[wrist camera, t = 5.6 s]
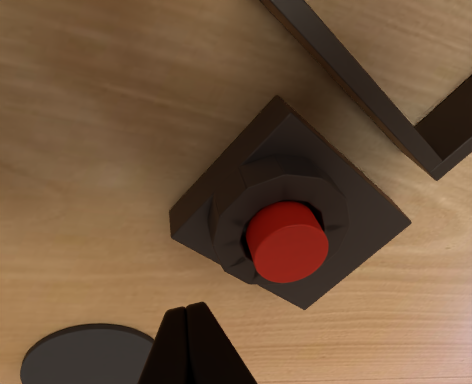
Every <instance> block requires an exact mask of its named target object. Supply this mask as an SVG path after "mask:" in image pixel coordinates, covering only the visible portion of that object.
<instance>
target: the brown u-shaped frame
mask: <svg viewBox="0 0 472 384" xmlns="http://www.w3.org/2000/svg"><path fill="white" fill-rule="evenodd" d="M260 1H261V2H262V3H263V4H264V5H265V6H266V7H267V8H268V10H269V11H270V12H271V13H272V14H273V15H274V16H275V17H276V18H277V19H278V20H279V21H280V22H281V23H282V24H283V25H284V27H285V28H286V29H287V30H288V31H289V32H290V33H291V34H292V35H293V36H294V37H295V38H296V39H297V40H298V41H299V42H300V44H301V45H302V46H303V47H304V48H305V49H306V50H307V51H308V52H309V53H310V54H311V55H312V56H313V57H314V58H315V60H316V61H317V62H318V63H319V64H320V65H321V66H322V67H323V68H324V69H325V70H326V71H327V72H328V73H329V74H330V75H331V77H332V78H333V79H334V80H335V81H336V82H337V83H338V84H339V85H340V86H341V87H342V88H343V89H344V90H345V91H346V92H347V94H348V95H349V96H350V97H351V98H352V99H353V100H354V101H355V102H356V103H357V104H358V105H359V106H360V107H361V108H362V110H363V111H364V112H365V113H366V114H367V115H368V116H369V117H370V118H371V119H372V120H373V121H374V122H375V123H376V124H377V125H378V127H379V128H380V129H381V130H382V131H383V132H384V133H385V134H386V135H387V136H388V137H389V138H390V139H391V140H392V141H393V142H394V144H395V145H396V146H397V147H398V148H399V149H400V150H401V151H402V152H403V153H404V154H405V155H406V156H408V157H409V158H410V159H411V160H412V161H413V162H415V163H416V164H417V165H418V166H419V167H420V168H422V169H423V170H424V171H425V172H426V173H427V174H429V175H430V176H431V177H432V178H433V179H434V180H436V181H438V180H439V179H440V178H441V177H442V176H444V175H445V174H446V173H447V172H448V171H450V170H451V169H452V168H453V167H454V166H456V165H457V164H458V163H459V162H460V161H462V160H463V159H464V158H465V157H466V156H468V155H469V154H470V153H471V152H472V76H471V77H470V78H469V79H468V80H467V81H465V82H464V83H463V84H462V85H461V86H460V87H459V88H458V89H457V90H456V91H454V92H453V93H452V94H451V95H450V96H449V97H448V98H447V99H446V100H444V101H443V102H442V103H441V104H440V105H439V106H438V107H437V108H436V109H435V110H433V111H432V112H431V113H430V114H429V115H428V116H427V117H426V118H425V119H423V120H422V121H421V122H420V123H419V124H418V125H417V126H416V127H415V128H414V127H413V126H412V124H411V123H410V122H409V121H408V120H407V119H406V117H405V116H404V115H403V114H402V113H401V112H400V110H399V109H398V108H397V107H396V106H395V105H394V104H393V102H392V101H391V100H390V99H389V98H388V97H387V95H386V94H385V93H384V92H383V91H382V90H381V88H380V87H379V86H378V85H377V84H376V83H375V82H374V80H373V79H372V78H371V77H370V76H369V75H368V73H367V72H366V71H365V70H364V69H363V68H362V66H361V65H360V64H359V63H358V62H357V61H356V60H355V58H354V57H353V56H352V55H351V54H350V53H349V51H348V50H347V49H346V48H345V47H344V46H343V44H342V43H341V42H340V41H339V40H338V39H337V38H336V36H335V35H334V34H333V33H332V32H331V31H330V29H329V28H328V27H327V26H326V25H325V24H324V22H323V21H322V20H321V19H320V18H319V17H318V16H317V14H316V13H315V12H314V11H313V10H312V9H311V7H310V6H309V5H308V4H307V3H306V2H305V0H260Z"/></svg>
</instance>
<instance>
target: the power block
mask: <svg viewBox="0 0 472 384" xmlns="http://www.w3.org/2000/svg"><path fill="white" fill-rule="evenodd" d="M280 201H295V202H299V203H301V204H303V205H305V206H307V207H308V208H309V209H310V210H311V211H312V213H313V215H314V216H315V218H316V220H317V221H318V223H319V225H320V227H321V228H322V230H323V232H324V233H325V235H326V237H327V239H328V245H329V246H328V254H327V256H326V258H325V260H324V262H323V263H322V265H321V266H320V267H319V268H318V269H317V270H316V271H314V272H313V273H312V274H310V275H309V276H307V277H305V278H303V279H300V280H297V281H294V282H288V283H277V282H272V281H269V280H267V279H265V278H264V277H262V276H261V275H260V274H259V273H258V272H257V270H256V268H255V266H254V263H253V259H252V256H251V253H250V250H249V247H248V244H247V240H246V230H247V227H248V224H249V222H250V220H251V219H252V218H253V216H254V215H255V214H256V213H257V212H258V211H260V210H261V209H262V208H264V207H266V206H268V205H271V204H273V203H276V202H280ZM169 218H170V232H171V238H172V239H174V240H176V241H178V242H179V243H181V244H183V245H185V246H187V247H189V248H191V249H192V250H194V251H196V252H198V253H200V254H202V255H203V256H205V257H207V258H209V259H211V260H213V261H215V262H216V263H218V264H220V265H221V266H222V268H223V269H224V271H225V272H227V273H229V274H231V275H233V276H234V277H236V278H238V279H240V280H242V281H244V282H246V283H248V284H257V285H259V286H261V287H263V288H264V289H266V290H268V291H270V292H272V293H274V294H276V295H277V296H279V297H281V298H283V299H285V300H287V301H289V302H290V303H292V304H294V305H296V306H298V307H300V308H301V309H303V310H306V309H307V308H308V307H309V306H311V305H312V304H313V303H314V302H316V301H317V300H318V299H319V298H320V297H322V296H323V295H324V294H325V293H327V292H328V291H329V290H330V289H332V288H333V287H334V286H335V285H336V284H338V283H339V282H340V281H341V280H343V279H344V278H345V277H346V276H348V275H349V274H350V273H351V272H352V271H354V270H355V269H356V268H357V267H359V266H360V265H361V264H362V263H363V262H365V261H366V260H367V259H368V258H370V257H371V256H372V255H373V254H375V253H376V252H377V251H378V250H379V249H381V248H382V247H383V246H384V245H386V244H387V243H388V242H389V241H391V240H392V239H393V238H394V237H395V236H397V235H398V234H399V233H400V232H402V231H403V230H404V229H405V228H407V227H408V226H409V225H410V224H411V223H412V222H411V220H410V219H409V218H408V217H407V216H406V215H405V214H404V213H403V212H402V211H401V210H400V208H399V207H398V206H397V205H396V204H395V203H394V202H393V201H392V200H391V199H390V198H389V197H388V196H387V195H386V194H385V193H384V192H382V191H381V190H380V189H379V188H378V187H377V186H376V185H375V184H374V183H373V182H372V181H371V180H369V179H368V178H367V177H366V176H365V175H364V174H363V173H362V172H361V171H360V170H359V169H357V168H356V167H355V166H354V165H353V164H352V163H351V162H350V161H349V160H348V159H347V158H346V157H344V156H343V155H342V154H341V153H340V152H339V151H338V150H337V149H336V148H335V147H334V146H332V145H331V144H330V143H329V142H328V141H327V140H326V139H325V138H324V137H323V136H322V135H321V134H319V133H318V132H317V131H316V130H315V129H314V128H313V127H312V126H311V125H310V124H309V123H308V122H306V121H305V120H304V119H303V118H302V117H301V116H300V115H299V114H298V113H297V112H296V111H294V110H293V109H292V108H291V107H290V106H289V105H288V104H287V103H286V102H285V101H284V100H283V99H281V98H280V97H279V96H275V98H274V99H273V100H272V101H271V102H270V103H269V104H268V105H267V106H266V107H265V108H264V109H263V111H262V112H261V113H260V114H259V115H258V116H257V117H256V118H255V119H254V120H253V121H252V122H251V123H250V125H249V126H248V127H247V128H246V129H245V130H244V131H243V132H242V133H241V134H240V135H239V136H238V137H237V139H236V140H235V141H234V142H233V143H232V144H231V145H230V146H229V147H228V148H227V149H226V150H225V151H224V153H223V154H222V155H221V156H220V157H219V158H218V159H217V160H216V161H215V162H214V163H213V164H212V165H211V167H210V168H209V169H208V170H207V171H206V172H205V173H204V174H203V175H202V176H201V177H200V178H199V179H198V181H197V182H196V183H195V184H194V185H193V186H192V187H191V188H190V189H189V190H188V191H187V192H186V194H185V195H184V196H183V197H182V198H181V199H180V200H179V201H178V202H177V203H176V204H175V205H174V206H173V208H172V209H171V210H170V211H169Z"/></svg>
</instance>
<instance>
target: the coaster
mask: <svg viewBox="0 0 472 384" xmlns="http://www.w3.org/2000/svg"><path fill="white" fill-rule="evenodd" d="M153 342H154V340H153V339H152V338H150V337H149V336H147V335H145V334H144V333H142V332H139V331H137V330H134V329H131V328H128V327H123V326H118V325H109V324H92V325H83V326H76V327H72V328H68V329H65V330H61V331H58V332H56V333H54V334H51V335H49V336H48V337H46V338H44V339H42V340H41V341H39V342H38V343H37V344H35V345H34V346H33V347H32V348H31V349H30V351H29V352H28V353H27V354H26V356H25V358H24V360H23V363H22V367H21V372H20V377H21V381H22V384H137V383H138V380H139V378H140V375H141V373H142V370H143V368H144V365H145V363H146V360H147V358H148V355H149V352H150V350H151V347H152V345H153Z"/></svg>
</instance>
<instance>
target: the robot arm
mask: <svg viewBox="0 0 472 384" xmlns="http://www.w3.org/2000/svg"><path fill="white" fill-rule="evenodd" d="M137 384H257V382H256V381H255V379H254V377H253V376H252V374H251V373H250V371H249V370H248V368H247V367H246V365H245V363H244V362H243V360H242V359H241V357H240V356H239V354H238V353H237V351H236V350H235V348H234V346H233V345H232V343H231V342H230V340H229V339H228V337H227V336H226V334H225V333H224V331H223V329H222V328H221V326H220V325H219V323H218V322H217V320H216V319H215V317H214V315H213V314H212V312H211V311H210V309H209V308H208V306H207V305H206V303H204V302H199V303H195V304H190V305H188V306H187V307H186V308H185V307H178V308H174V309H169V310H167V311H166V313H165V315H164V317H163V320H162V322H161V325H160V327H159V330H158V332H157V335H156V337H155V340H154V342H153V345H152V347H151V350H150V352H149V355H148V358H147V360H146V363H145V365H144V368H143V370H142V373H141V375H140V378H139V380H138V383H137Z"/></svg>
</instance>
